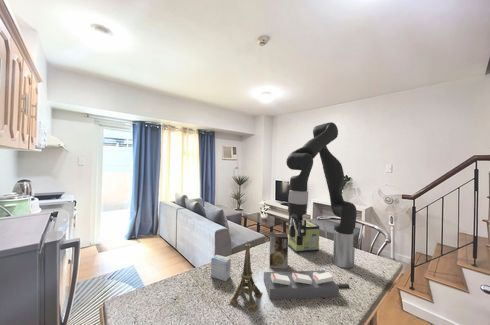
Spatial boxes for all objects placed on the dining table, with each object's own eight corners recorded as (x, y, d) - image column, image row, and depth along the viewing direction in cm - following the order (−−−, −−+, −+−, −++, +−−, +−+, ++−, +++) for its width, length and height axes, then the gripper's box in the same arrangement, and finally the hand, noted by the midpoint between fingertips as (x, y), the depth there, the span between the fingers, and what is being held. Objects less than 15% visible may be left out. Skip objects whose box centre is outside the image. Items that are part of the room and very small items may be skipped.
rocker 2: (307, 279, 85) (308, 275, 85) (311, 284, 81) (312, 280, 81) (291, 276, 84) (292, 272, 84) (294, 281, 81) (295, 277, 81)
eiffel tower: (256, 312, 71) (258, 241, 71) (228, 304, 75) (230, 237, 74) (262, 293, 82) (264, 231, 81) (237, 287, 85) (239, 228, 84)
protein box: (287, 246, 128) (288, 221, 128) (309, 244, 132) (310, 220, 132) (295, 253, 118) (296, 227, 118) (319, 251, 122) (320, 225, 122)
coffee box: (286, 263, 107) (287, 232, 106) (287, 269, 100) (288, 237, 100) (268, 261, 108) (269, 231, 107) (269, 268, 101) (270, 235, 101)
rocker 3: (328, 275, 86) (328, 271, 86) (333, 280, 82) (332, 276, 82) (313, 279, 85) (312, 275, 85) (317, 284, 82) (316, 280, 82)
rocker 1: (286, 279, 84) (287, 275, 84) (289, 285, 80) (290, 280, 80) (270, 277, 83) (271, 273, 83) (272, 282, 80) (273, 278, 80)
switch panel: (340, 278, 94) (340, 268, 94) (357, 296, 82) (357, 284, 82) (263, 281, 90) (263, 270, 90) (269, 299, 78) (270, 287, 78)
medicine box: (230, 277, 92) (231, 258, 92) (225, 282, 88) (226, 262, 88) (216, 272, 96) (216, 254, 96) (210, 277, 92) (211, 258, 92)
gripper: (313, 205, 77) (311, 248, 77) (300, 198, 91) (298, 234, 91) (294, 204, 76) (292, 248, 76) (283, 198, 90) (282, 234, 90)
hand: (295, 240), depth 83 cm, fingers open, 8 cm apart
